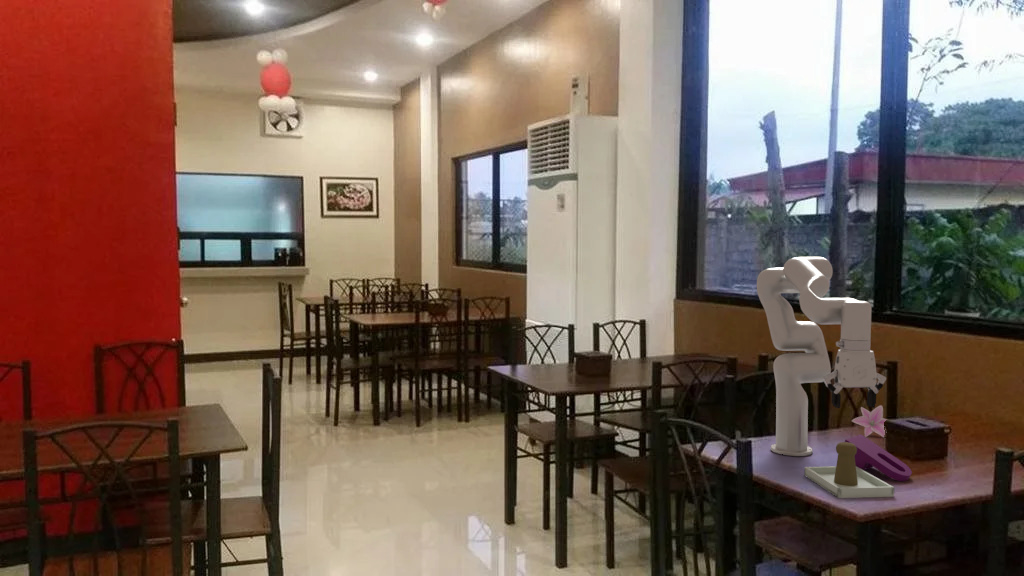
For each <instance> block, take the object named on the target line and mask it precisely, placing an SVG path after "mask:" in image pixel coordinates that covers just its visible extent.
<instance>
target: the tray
mask: <svg viewBox="0 0 1024 576" xmlns="http://www.w3.org/2000/svg"><path fill="white" fill-rule="evenodd" d="M835 471H836V465H834V466H804V473H803V474H804V475H805V476H804V477H806V476H807V477H808V478H807V477H806V478H807V479H808V480H810V479H811V480H810V481H812V482H813V481H814V482H813V483H815V484H816V483H817V484H816V485H818V486H819V485H820V486H819V487H821V488H822V487H823V488H822V489H823V490H825V489H826V492H829V493H830V494H831V493H832V494H831V495H833V496H834V495H835V497H836V498H837V499H850V498H853V499H855V498H857V499H858V498H860V499H861V498H889V497H890V498H892V497H895V486H893V485H891V484H889V483H887V482H886V481H884V480H882V479H880V478H878V477H876V475H875V476H874V475H873V474H871V473H870V472H868V471H866V470H862V469H860V468H858V467H857V466H856V473H857V481H858V485H856V486H844V485H839V484H836V483H835V482H834V477H835Z"/></svg>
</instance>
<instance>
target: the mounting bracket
mask: <svg viewBox="0 0 1024 576" xmlns="http://www.w3.org/2000/svg"><path fill="white" fill-rule="evenodd" d="M844 442H848V443H852V444H854V445H855V446H856V448H857V452H856V454H855V456H854V457H855V465H856V466H857V467H858V468H860V469H862V470H864V471H866V470H869V469H872V468H875V469H876V470H878V471H879V472H881V473H882V474H884V475H885V476H887V477H888V478H891V479H893V480H894V481H899V482H906V481H908V480H909V479H910V477H911V475H912V473H913V472H912V470H911V468H910V467H909V465H907V464H906V463H904V462H903V461H902V460H900V459H899V458H897V457H896V456H894V455H892V453H890V452H888V451H887V450H885V449H884V448H882V447H881V446H880V445H878V444H876V443H875V442H874V441H872V440H871V439H869V438H868V437H865V435H863V434H858V435H855V436H852V437H849V438H846V439H845V440H844Z"/></svg>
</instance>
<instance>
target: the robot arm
mask: <svg viewBox="0 0 1024 576" xmlns="http://www.w3.org/2000/svg"><path fill="white" fill-rule="evenodd" d="M833 272H834V271H833V267H832V263H831V262H830V261H829V260H828V259H827V258H825V257H822V256H798V257H797V256H796V257H792V258H789V259H788V260H787V261H785V263H784V265H783V267H779V266H778V267H770V268H765V269H764V270H762V271H760V273H759V274H758V276H757V279H756V292H757V296H758V298H759V301H760V303H761V305H762V307H763V309H764V311H765V315H766V319H767V325H768V328H769V333H770V337H771V341H772V344H773V347H774V348H775V349H776V350H777V351H783V352H785V351H786V352H787V351H788V352H789V353H788V352H787V353H783V354H779V355H778V356H777V357H776V358H775V359H774V361H773V364H772V366H773V374H774V380H775V394H776V395H775V400H776V401H775V403H776V404H775V407H776V409H775V411H776V412H775V415H776V416H775V417H776V418H775V443H774V444H771V445H770V451H772V452H773V453H775V454H779V455H782V454H783V455H784V456H790V457H791V456H793V457H806V456H810V455H812V454H813V452H814V451H813V448H812V447H810V446H809V445H808V438H809V437H808V434H809V433H808V432H809V431H808V430H809V429H808V427H809V424H808V422H809V421H808V419H809V417H808V416H809V415H808V414H809V411H808V410H809V399H808V395H807V392H806V391H805V390H804V388H803V386H802V384H808V383H809V384H811V383H813V384H815V383H824V384H825V387H826V388H827V389H828V390H829V392H831V404H832V406H833V408H836V409H840V408H841V397H842V396H841V394H840V392H841V391H842V389H843V388H847V389H849V388H851V389H855V388H858V389H859V388H860V389H861V388H862V389H865V388H867V390H868V391H867V393H866V405H867V407H869V408H872V409H875V408H876V404H877V394H878V393H879V391H880V390H881V389H882V388H883V385H884V384H885V382H886V380H887V377H886V376H885V375H882V374H880V373H878V372H877V364H876V358H875V353H874V350H871V337H872V335H871V334H872V332H871V331H872V330H871V329H872V304H871V303H870V302H869V301H867V300H866V301H865V300H858V299H856V298H852V297H824V296H826V294H827V293H828V291H829V290H830V280H831V279H832V278H833V274H834V273H833ZM781 294H799V298H798V299H799V306H800V310H801V312H802V313H803V314H804V315H805V316H806V317H807V318H808V319H809V320H810V321H808V320H807V321H803V320H799V321H798V320H797V319H796V317H795V313H794V309H793V307H792V305H791V304H790V302H789V301H788V300H787V299H786V298H785V297H783V296H782V295H781ZM819 325H822V326H823V325H826V326H827V325H840V338H839V340H838V341H836V342H835V346H836V347H839V349H838V350H837V353H836V356H835V364H834V368H833V369H834V370H833V371H832V372H831V370H832V368H831V362H830V357H829V354H828V353H829V352H828V349H827V345H826V342H825V341H826V340H825V337H824V334H823V333H824V332H823V330H822V329H821V328H820V326H819ZM790 351H792V352H793V351H794V352H793V353H792V352H790ZM795 351H796V352H795ZM797 351H803V352H797ZM832 379H833V382H834V384H832V382H831V380H832Z"/></svg>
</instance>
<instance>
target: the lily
mask: <svg viewBox="0 0 1024 576" xmlns="http://www.w3.org/2000/svg"><path fill="white" fill-rule="evenodd" d="M860 411H861V414H862V415H861V416H858V417H857V416H856V417H855V418H853V419H852V420H851V422H852V423H854V424H857V425H859V426H861V427H864V437H866V438H868V436H870V435H871V434H873V433H876V434H877V435H879V436H881V437H882V438H884V435H885V430H886V429H885V430H884V427H885V426H884V422H885V421H886V420H888V419H887V418H884V408H883V404H882V405H881V404H880V405H878V406H877V407H876V406H875V408H873V409H872V410H871V411H869V410H868V409H866V408H864V407H863V406H861V407H860Z"/></svg>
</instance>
